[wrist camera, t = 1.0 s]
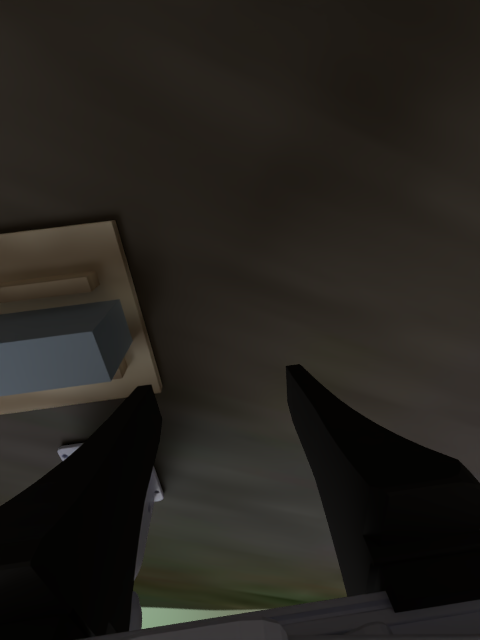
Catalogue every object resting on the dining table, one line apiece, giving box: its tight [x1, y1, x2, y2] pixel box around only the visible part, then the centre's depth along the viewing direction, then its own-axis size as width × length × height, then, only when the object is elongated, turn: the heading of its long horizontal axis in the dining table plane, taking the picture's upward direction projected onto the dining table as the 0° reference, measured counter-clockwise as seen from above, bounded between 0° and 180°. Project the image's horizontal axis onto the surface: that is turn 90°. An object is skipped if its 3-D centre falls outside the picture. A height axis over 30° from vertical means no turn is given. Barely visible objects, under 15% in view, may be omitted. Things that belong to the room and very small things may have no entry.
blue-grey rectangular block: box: [0, 299, 133, 396], centre depth 19 cm, size 4×10×5 cm, turn 96°
